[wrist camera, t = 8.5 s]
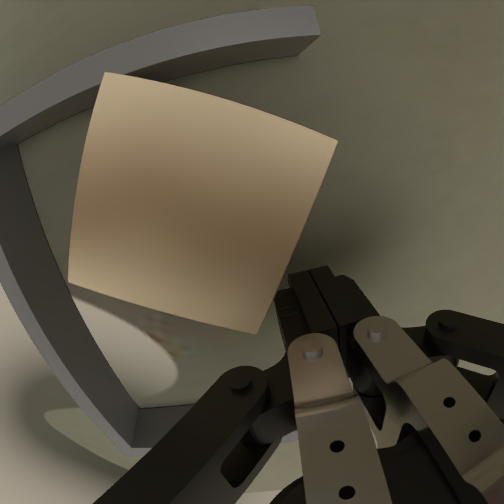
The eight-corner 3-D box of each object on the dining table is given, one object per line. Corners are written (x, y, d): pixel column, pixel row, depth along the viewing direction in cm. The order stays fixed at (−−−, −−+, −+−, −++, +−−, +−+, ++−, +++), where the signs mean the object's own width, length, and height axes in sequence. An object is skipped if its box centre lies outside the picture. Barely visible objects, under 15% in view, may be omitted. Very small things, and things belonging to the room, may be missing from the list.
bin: (-2, 132, 9) (-45, 141, 6) (291, 32, 9) (313, 5, 6) (132, 418, 16) (125, 455, 14) (336, 386, 16) (351, 425, 14)
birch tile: (145, 87, 9) (105, 71, 6) (300, 133, 11) (338, 140, 7) (109, 234, 12) (67, 282, 8) (247, 273, 13) (256, 334, 9)
